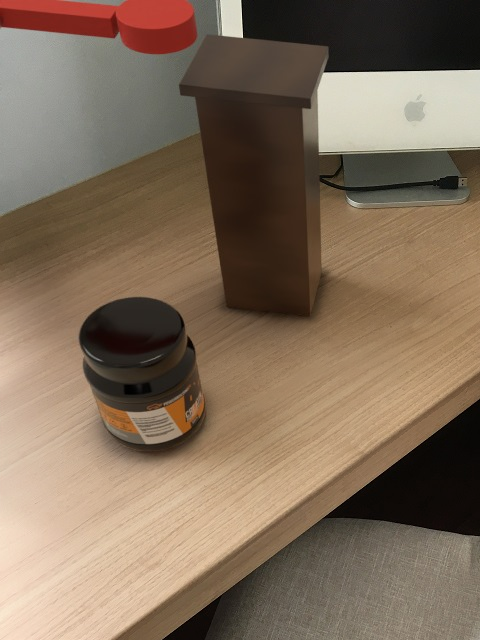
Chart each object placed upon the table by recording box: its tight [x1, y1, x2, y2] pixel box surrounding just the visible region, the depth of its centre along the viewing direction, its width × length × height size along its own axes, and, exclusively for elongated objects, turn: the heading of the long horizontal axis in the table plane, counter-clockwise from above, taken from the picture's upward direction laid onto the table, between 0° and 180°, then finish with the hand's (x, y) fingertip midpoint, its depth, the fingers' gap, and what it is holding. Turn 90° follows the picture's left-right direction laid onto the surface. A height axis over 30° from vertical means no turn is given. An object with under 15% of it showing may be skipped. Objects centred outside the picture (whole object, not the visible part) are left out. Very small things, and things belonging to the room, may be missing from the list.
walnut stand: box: [178, 33, 330, 317], centre depth 83 cm, size 12×10×26 cm
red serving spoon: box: [0, 0, 198, 55], centre depth 66 cm, size 22×6×2 cm, turn 83°
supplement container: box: [78, 296, 207, 452], centre depth 77 cm, size 10×10×12 cm
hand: (3, 5), depth 66 cm, fingers closed on red serving spoon, 2 cm apart
